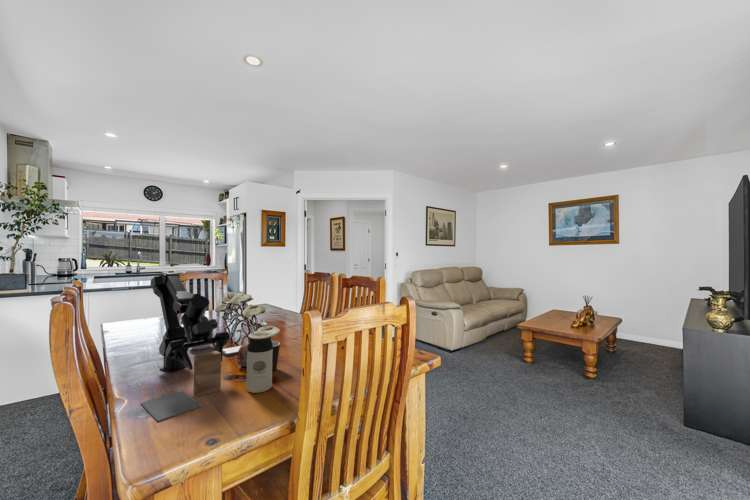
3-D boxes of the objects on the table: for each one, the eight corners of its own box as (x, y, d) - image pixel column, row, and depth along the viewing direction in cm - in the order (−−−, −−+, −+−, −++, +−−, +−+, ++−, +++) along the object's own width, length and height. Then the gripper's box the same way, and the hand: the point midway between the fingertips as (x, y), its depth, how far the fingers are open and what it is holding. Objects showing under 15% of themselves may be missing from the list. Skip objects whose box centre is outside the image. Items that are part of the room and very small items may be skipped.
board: (193, 393, 101) (194, 355, 101) (215, 386, 106) (216, 350, 106) (197, 396, 98) (198, 358, 99) (220, 389, 104) (221, 353, 104)
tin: (242, 369, 121) (243, 348, 121) (235, 369, 122) (235, 347, 122) (263, 357, 136) (264, 337, 136) (257, 356, 137) (257, 337, 137)
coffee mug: (284, 367, 124) (284, 342, 124) (269, 375, 116) (270, 348, 116) (259, 364, 128) (260, 339, 128) (244, 371, 119) (245, 345, 120)
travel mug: (251, 383, 109) (252, 331, 109) (274, 383, 109) (275, 331, 109) (242, 393, 101) (244, 337, 101) (268, 393, 101) (269, 337, 101)
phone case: (253, 346, 153) (218, 352, 142) (253, 343, 153) (218, 349, 142) (261, 350, 147) (225, 357, 135) (261, 347, 147) (226, 354, 135)
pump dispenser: (182, 350, 143) (183, 317, 143) (199, 344, 153) (200, 312, 153) (201, 352, 141) (202, 318, 141) (218, 345, 151) (218, 314, 151)
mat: (140, 404, 93) (140, 402, 93) (181, 391, 101) (181, 390, 101) (157, 422, 83) (157, 420, 83) (201, 406, 92) (201, 405, 92)
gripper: (169, 316, 99) (182, 358, 92) (228, 308, 114) (243, 344, 106) (160, 337, 104) (172, 379, 97) (217, 327, 118) (231, 363, 111)
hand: (206, 365), depth 103 cm, fingers open, 9 cm apart
